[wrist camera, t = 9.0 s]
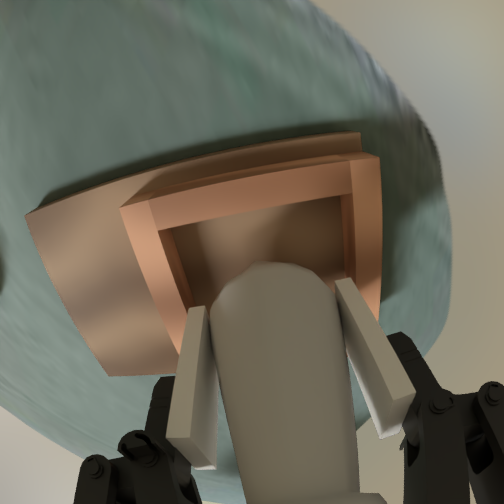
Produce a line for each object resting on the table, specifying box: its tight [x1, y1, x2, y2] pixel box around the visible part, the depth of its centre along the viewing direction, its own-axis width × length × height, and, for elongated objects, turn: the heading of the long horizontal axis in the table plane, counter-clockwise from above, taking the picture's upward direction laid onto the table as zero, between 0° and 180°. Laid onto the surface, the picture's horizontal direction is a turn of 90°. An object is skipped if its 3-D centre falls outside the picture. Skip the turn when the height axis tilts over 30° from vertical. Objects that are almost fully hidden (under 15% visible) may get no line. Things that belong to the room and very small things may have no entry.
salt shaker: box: [210, 261, 387, 504], centre depth 9 cm, size 6×6×13 cm
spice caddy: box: [25, 131, 382, 376], centre depth 16 cm, size 14×20×4 cm
